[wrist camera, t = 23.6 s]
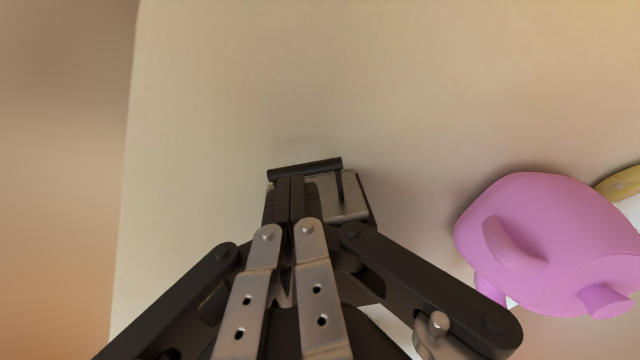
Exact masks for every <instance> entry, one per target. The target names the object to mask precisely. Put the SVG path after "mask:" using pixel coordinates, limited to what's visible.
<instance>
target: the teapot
mask: <svg viewBox="0 0 640 360" xmlns="http://www.w3.org/2000/svg"><path fill="white" fill-rule="evenodd" d="M454 243H455V246H456V248H457V250H458V251H459V253H460V254H461V255H462V257H463V258H464V259H465V260H466V261H467V262H468V263H469V264H470V265H471V266H472V268H473V269H474V270H475V273H474V283H475V287H476V290H477V291H478V292H480V293H482V294H483V295H485V296H487V297H488V298H490V299H492V300H493V301H495V302H497V303H498V304H500V305H502V306H503V307H505V308H506V309H507V305H506V300H505V296H506V295H507V296H508V297H510V298H511V299H512V300H514V301H515V302H517V303H518V304H520V305H521V306H523V307H524V308H526V309H528V310H530V311H532V312H535V313H538V314H541V315H545V316H553V317H576V316H582V315H586V314H590V315H591V317H592V318H593V319H608V318H612V317H615V316H618V315H620V314H623V313H625V312H627V311H628V310H630V309H631V308H632V307H633V305H634V303H635V302H634V301H633V300H631V299H629V298H628V297H626V296H627V295H629V294H631V293H633V292H635V291H637V290H639V289H640V234H639V233H638V232H637V230H636V229H635V228H634V227H633V225H632V224H631V223H630V222H629V220H628V219H627V218H626V217H625V216H624V215H623V214H622V213H621V212H620V211H619V210H618V209H617V208H616V207H615V206H614V205H613V204H612V203H610V202H609V201H608V200H607V199H606V198H604V197H603V196H602V195H601V194H599V193H598V192H597V191H595V190H594V189H592V188H591V187H589V186H587V185H586V184H584V183H582V182H581V181H578V180H576V179H573V178H570V177H566V176H562V175H557V174H550V173H541V172H515V173H511V174H508V175H506V176H504V177H502V178H501V179H499V180H497V181H496V182H495V183H494V184H492V185H491V186H490V187H489V188H488V189H487V190H485V191H484V192H483V193H482V194H481V195H480V196H479V197H478V198H477V199H476V200H475V201H474V202H473V203H472V204H471V205H470V206H469V207H468V208H467V209H466V210H465V211H464V213H463V214H462V215H461V216H460V217H459V219H458V220H457V221H456V223H455V225H454Z"/></svg>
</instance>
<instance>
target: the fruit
mask: <svg viewBox="0 0 640 360" xmlns="http://www.w3.org/2000/svg"><path fill="white" fill-rule="evenodd" d="M594 190H595V191H597V192H598V193H599V194H601V195H602V196H603V197H604V198H606V199H607V200H608V201H609V202H610V203H615V202H618V201H621V200H623V199H626V198H628V197H631V196H633V195H635V194H637V193H640V164H639V165H636V166H633V167H630V168H628V169H625V170H623V171H620V172H618V173H616V174H614V175H612V176H610V177H608V178H606V179H605V180H603V181H602V182H600V183H599V184H598V185H597V186H596V187H595V188H594Z"/></svg>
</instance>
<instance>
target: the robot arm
mask: <svg viewBox="0 0 640 360" xmlns="http://www.w3.org/2000/svg"><path fill="white" fill-rule="evenodd" d="M293 252H296V265H295V278H296V290H297V302H298V304H296V305H294V306H292V289H293V277H294V262H293ZM333 270H334V271H340V272H345V274H346V275H347V276H348V277H349V278H350V279H351V280H353V281H354V282H355V283H356V284H357V285H359V286H360V287H361V288H362V289H363V290H365V291H366V292H367V293H368V294H370V295H371V296H372V297H373V298H374V299H376V300H377V301H378V302H379V303H381V304H382V305H383V306H384V307H385V308H387V309H388V310H389V311H390V312H391V313H393V314H394V315H395V316H396V317H398V318H399V319H400V320H401V321H402V322H404V323H405V324H406V325H407V326H408V327H410V328H411V329H412V330H413V334H412V341H413V345H414V348H415V350H416V352H417V353H418V354H419V356H420V357H421V358H422V359H423V360H507V359H508V358H509V357H510V356H511V355H512V354H513V353H514V351H515V350H516V349H517V348H518V347H519V346H520V345H521V343H522V341H523V331H522V327H521V325H520V323H519V322H518V320H517V319H516V317H515V316H514V315H513V314H512V313H511V312H510V311H509V310H508V309H506V308H505V307H503V306H502V305H500V304H498V303H497V302H495V301H493V300H492V299H490V298H488V297H487V296H485V295H483V294H482V293H480V292H478V291H477V290H475V289H473V288H471V287H470V286H468V285H466V284H465V283H463V282H461V281H460V280H458V279H456V278H455V277H453V276H451V275H450V274H448V273H446V272H445V271H443V270H441V269H439V268H438V267H436V266H434V265H433V264H431V263H429V262H428V261H426V260H424V259H423V258H421V257H419V256H418V255H416V254H414V253H413V252H411V251H409V250H407V249H406V248H404V247H402V246H401V245H399V244H397V243H396V242H394V241H392V240H391V239H389V238H387V237H386V236H384V235H382V234H381V233H379V232H377V231H375V230H374V229H372V228H370V227H369V226H367V225H365V224H364V223H362V222H359V221H350V222H346V223H345V224H343V225H342V226H341V227H340V228H339V227H332V226H329V225H327V224H326V223H325V222H324V220H323V213H322V205H321V200H320V195H319V190H318V186H317V185H316V184H315V183H314V182H308V183H306V182H305V178H304V175H299V176H293V177H288V178H282V179H278V183H277V188H274V189H270V191H269V192H268V194H267V195H266V200H265V208H264V213H263V220H262V226H261V227H260V228H259V229H258V230H257V231H256V233H255V234H254V237H253V239H252V240H251V241H249V242H247V243H245V244H242V245H240V246H238V247H237V245H236V244H235V243H233V242H224V243H221V244H219V245H217V246H216V247H215V248H213V249H212V250H211V251H210V252H209V253H208V254H207V255H206V256H205V257H203V258H202V259H201V260H200V261H199V262H198V263H197V264H196V265H195V266H194V267H192V268H191V269H190V270H189V271H188V272H187V273H186V274H185V275H184V276H183V277H181V278H180V279H179V280H178V281H177V282H176V283H175V284H174V285H173V286H172V287H170V288H169V289H168V290H167V291H166V292H165V293H164V294H163V295H162V296H160V297H159V298H158V299H157V300H156V301H155V302H154V303H153V304H152V305H151V306H149V307H148V308H147V309H146V310H145V311H144V312H143V313H142V314H141V315H140V316H138V317H137V318H136V319H135V320H134V321H133V322H132V323H131V324H130V325H129V326H127V327H126V328H125V329H124V330H123V331H122V332H121V333H120V334H119V335H118V336H116V337H115V338H114V339H113V340H112V341H111V342H110V343H109V344H108V345H107V346H105V347H104V348H103V349H102V350H101V351H100V352H99V353H98V354H97V355H96V356H94V357H93V358H92V359H91V360H412V359H411V358H410V357H409V356H408V355H407V354H406V353H405V352H404V351H403V350H402V349H401V348H400V347H399V346H398V345H397V344H396V343H395V342H394V341H393V340H392V339H391V338H390V337H389V336H388V335H387V334H386V333H385V332H383V331H382V330H381V329H380V328H379V327H378V326H377V325H376V324H375V323H374V322H373V321H372V320H371V319H370V318H369V317H368V316H367V315H366V314H365V313H363V312H362V311H361V310H359V309H358V308H356V307H354V306H353V305H350V304H348V303H344V302H340V300H339V295H338V291H337V287H336V282H335V278H334V274H333ZM221 283H222V285H221V286H220V287H219V288H218V290H217V291H216V292H215V293H214V294H213V295H212V296H211V297H210V298H209V299H208V300H207V301H206V302H205V303H204V304H203V305H202V306H201V307H200V308H199V306H200V305H201V303H202V302H203V301H204V300H205V299H206V298H207V297H208V296H209V295H210V294H211V293H212V292H213V291H214V290H215V289H216V288H217V287H218V286H219V285H220V284H221ZM198 308H199V309H198Z"/></svg>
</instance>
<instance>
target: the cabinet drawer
mask: <svg viewBox="0 0 640 360" xmlns="http://www.w3.org/2000/svg"><path fill="white" fill-rule="evenodd" d="M341 170H343V163H342V159H341V157H337V158H331V159H326V160H320V161H314V162H309V163H303V164H298V165H292V166H286V167H281V168H275V169H270V170H267V178H268V181H269V182H272V183H273V184H272V185H268V191H267V194H268V192H269V191H270V189H274V188H277V183H278V179H282V178H288V177H293V176H299V175H304V176H309V175H314V174H320V173H326V172H331V171H334V172H335V173H334V174H329V175H323V176H317V177H312V178H306V179H305V182H306V183H308V182H314V183H315V184H316V185H317V186H318V190H319V195H320V200H321V205H322V213H323V220H324V222H325V223H326V224H327V225H329V226H337V225H343V224H345V223H346V222H350V221H359V222H360V221H366V220H369V214H368V209H367V206H366V203H365V201H364V198H363V195H362V192H361V190H360V187H359V184H358V181H357V179H356V176H355V173H354V170H351V171H345V172H341Z"/></svg>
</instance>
